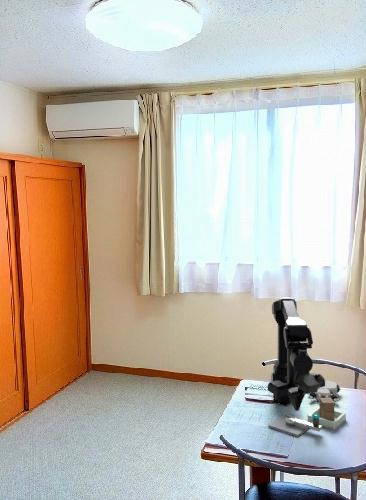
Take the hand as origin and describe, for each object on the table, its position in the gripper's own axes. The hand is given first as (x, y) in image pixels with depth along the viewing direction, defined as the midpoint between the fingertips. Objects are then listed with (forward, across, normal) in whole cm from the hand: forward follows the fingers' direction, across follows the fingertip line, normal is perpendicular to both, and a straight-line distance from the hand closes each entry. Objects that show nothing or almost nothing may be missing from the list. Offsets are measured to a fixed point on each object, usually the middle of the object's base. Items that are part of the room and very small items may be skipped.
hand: (296, 410), depth 148 cm
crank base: (+10, +4, +8) cm, 13 cm away
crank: (+9, +6, +4) cm, 11 cm away
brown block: (+9, +17, +6) cm, 20 cm away
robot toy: (+10, +31, +22) cm, 39 cm away
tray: (+10, +17, +6) cm, 21 cm away
